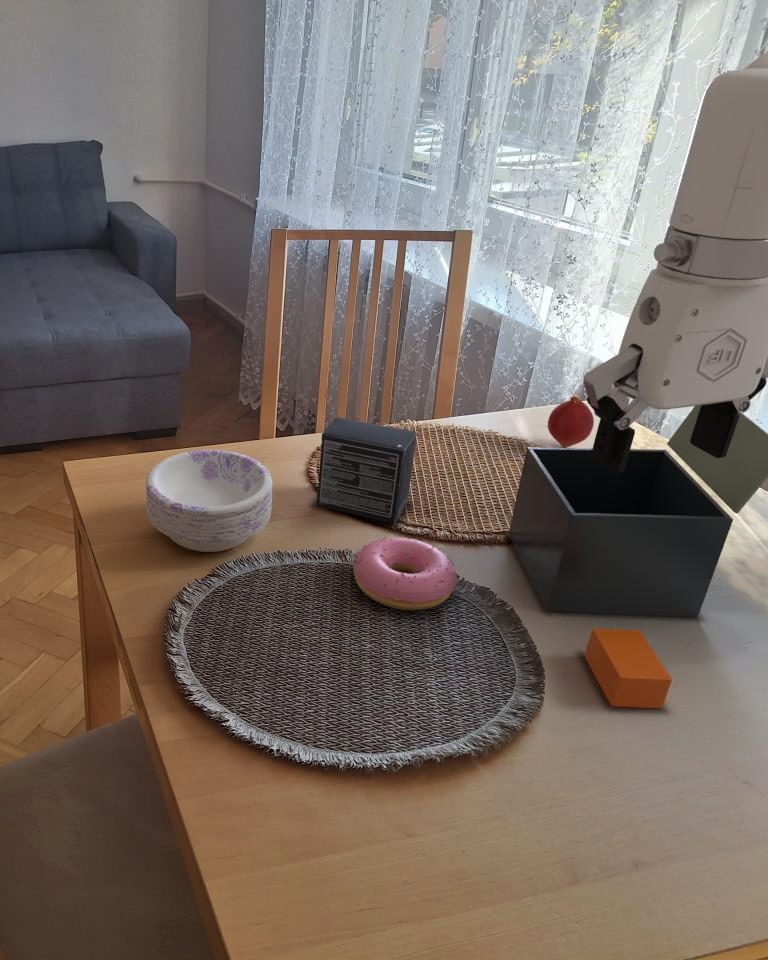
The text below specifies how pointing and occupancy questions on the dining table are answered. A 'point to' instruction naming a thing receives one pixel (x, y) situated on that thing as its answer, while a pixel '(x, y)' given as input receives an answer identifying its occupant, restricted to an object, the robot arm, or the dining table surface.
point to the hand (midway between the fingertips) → (657, 458)
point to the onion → (571, 422)
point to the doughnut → (399, 590)
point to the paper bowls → (209, 498)
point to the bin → (616, 533)
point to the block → (627, 668)
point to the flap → (727, 460)
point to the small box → (365, 469)
